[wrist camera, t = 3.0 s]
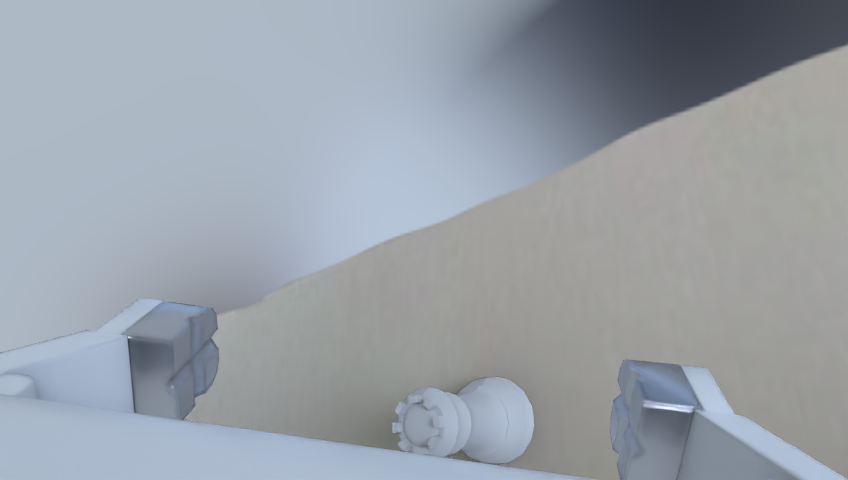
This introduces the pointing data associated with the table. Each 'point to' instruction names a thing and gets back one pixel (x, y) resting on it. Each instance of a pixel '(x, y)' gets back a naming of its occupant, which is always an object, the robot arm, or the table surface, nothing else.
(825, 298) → the table surface
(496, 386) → the rook chess piece
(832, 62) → the table surface
